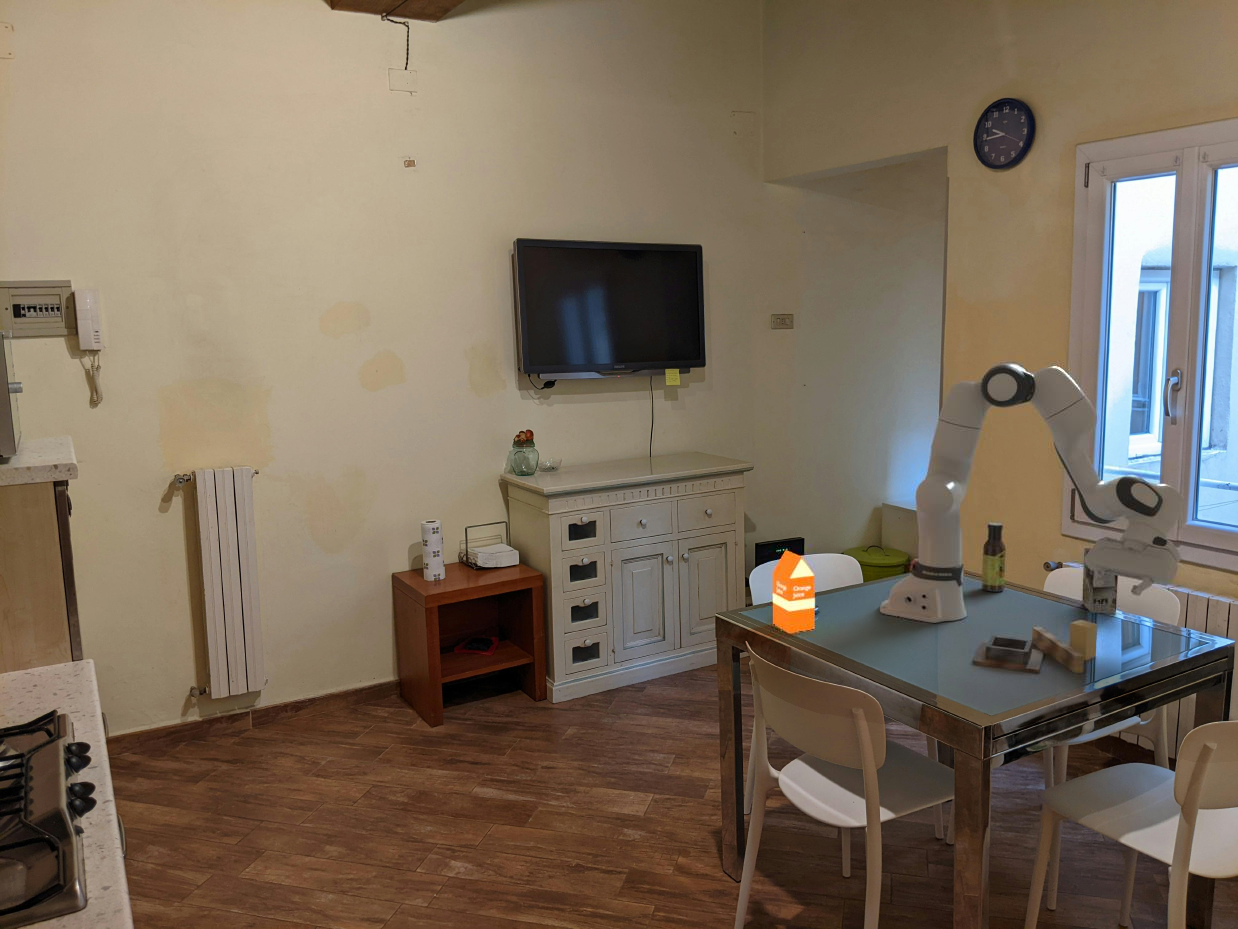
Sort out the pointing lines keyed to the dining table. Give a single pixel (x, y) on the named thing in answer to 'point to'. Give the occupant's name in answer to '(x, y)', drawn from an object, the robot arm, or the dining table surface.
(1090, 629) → the stop block
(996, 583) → the sauce bottle
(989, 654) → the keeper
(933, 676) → the dining table surface
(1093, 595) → the coffee box
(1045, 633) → the strip
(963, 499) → the robot arm
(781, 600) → the orange juice
